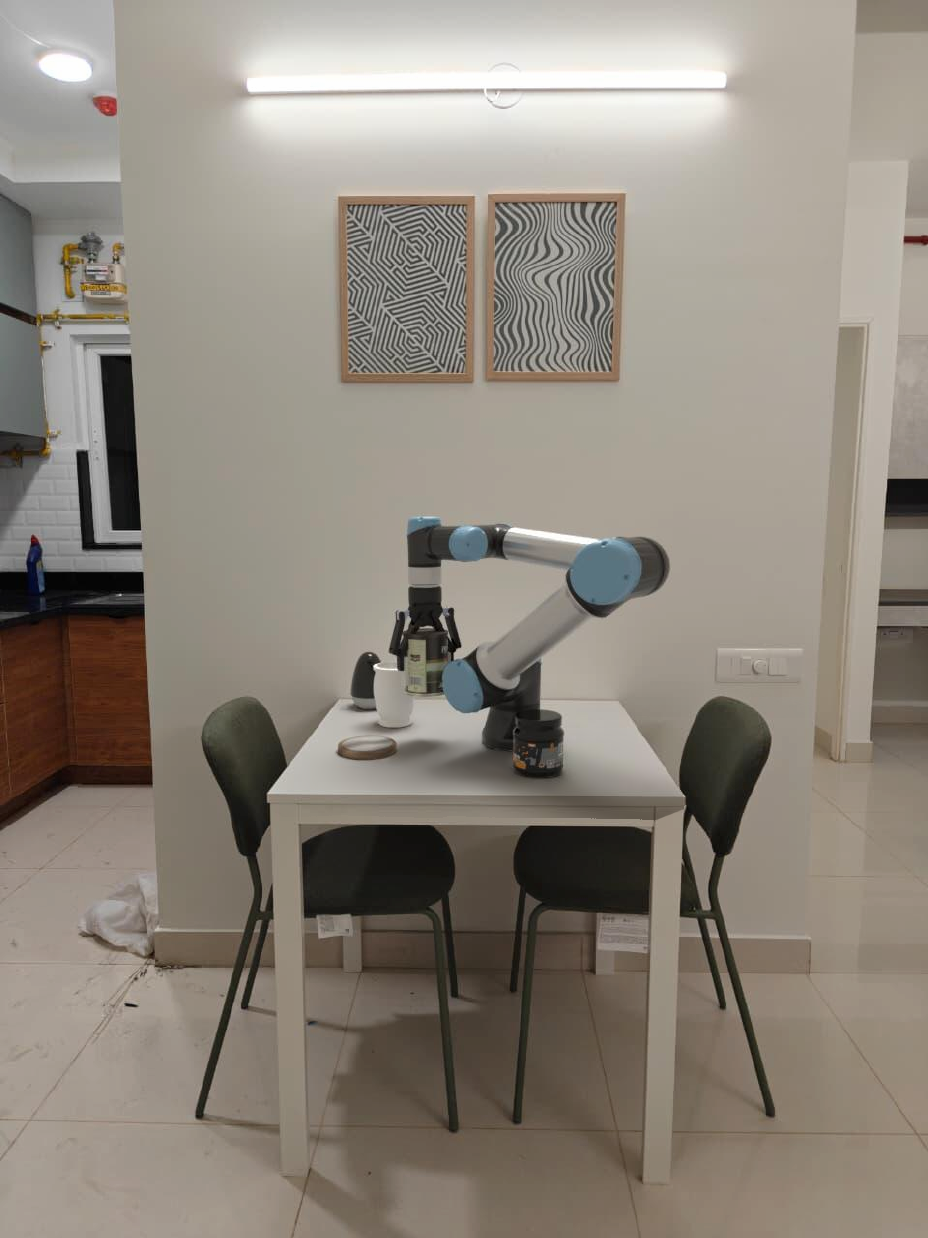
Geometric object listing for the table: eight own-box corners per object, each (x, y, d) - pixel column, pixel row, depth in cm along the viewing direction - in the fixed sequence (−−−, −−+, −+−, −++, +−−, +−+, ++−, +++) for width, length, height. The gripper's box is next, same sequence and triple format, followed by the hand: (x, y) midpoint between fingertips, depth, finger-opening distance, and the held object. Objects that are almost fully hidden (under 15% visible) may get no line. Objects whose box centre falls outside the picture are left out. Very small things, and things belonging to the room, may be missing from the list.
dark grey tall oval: (352, 713, 215) (350, 656, 212) (349, 703, 225) (348, 648, 222) (390, 710, 217) (389, 654, 214) (386, 701, 227) (385, 647, 225)
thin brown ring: (408, 751, 182) (407, 744, 182) (358, 763, 174) (357, 756, 174) (376, 738, 192) (376, 731, 192) (327, 749, 184) (327, 741, 184)
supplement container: (507, 764, 174) (507, 709, 172) (554, 761, 176) (555, 707, 174) (519, 781, 163) (520, 723, 162) (570, 777, 165) (571, 720, 164)
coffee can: (449, 686, 193) (448, 627, 191) (447, 697, 182) (447, 634, 180) (405, 686, 193) (404, 627, 191) (401, 697, 183) (400, 635, 180)
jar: (414, 730, 199) (413, 669, 197) (371, 729, 199) (370, 669, 197) (417, 718, 210) (416, 660, 207) (377, 718, 210) (376, 660, 208)
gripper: (460, 581, 193) (461, 673, 196) (371, 586, 182) (374, 684, 185) (476, 584, 186) (477, 679, 189) (385, 589, 175) (387, 691, 179)
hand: (426, 682), depth 187 cm, fingers closed on coffee can, 10 cm apart
